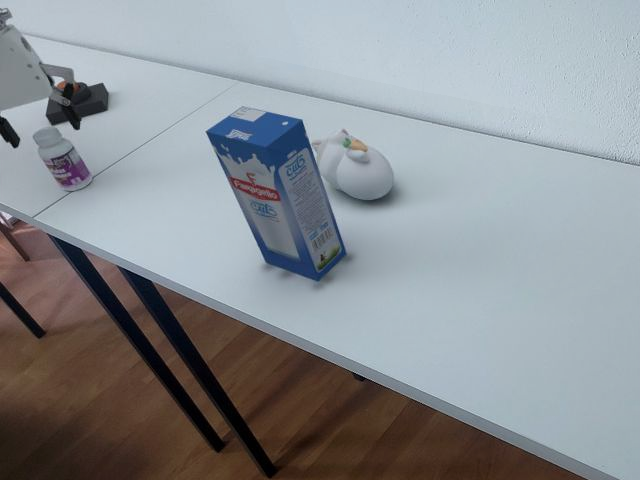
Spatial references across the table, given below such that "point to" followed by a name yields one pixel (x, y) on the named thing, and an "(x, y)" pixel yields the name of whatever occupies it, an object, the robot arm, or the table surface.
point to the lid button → (62, 85)
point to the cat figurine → (353, 166)
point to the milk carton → (279, 190)
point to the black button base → (80, 102)
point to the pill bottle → (62, 159)
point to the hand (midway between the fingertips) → (48, 135)
